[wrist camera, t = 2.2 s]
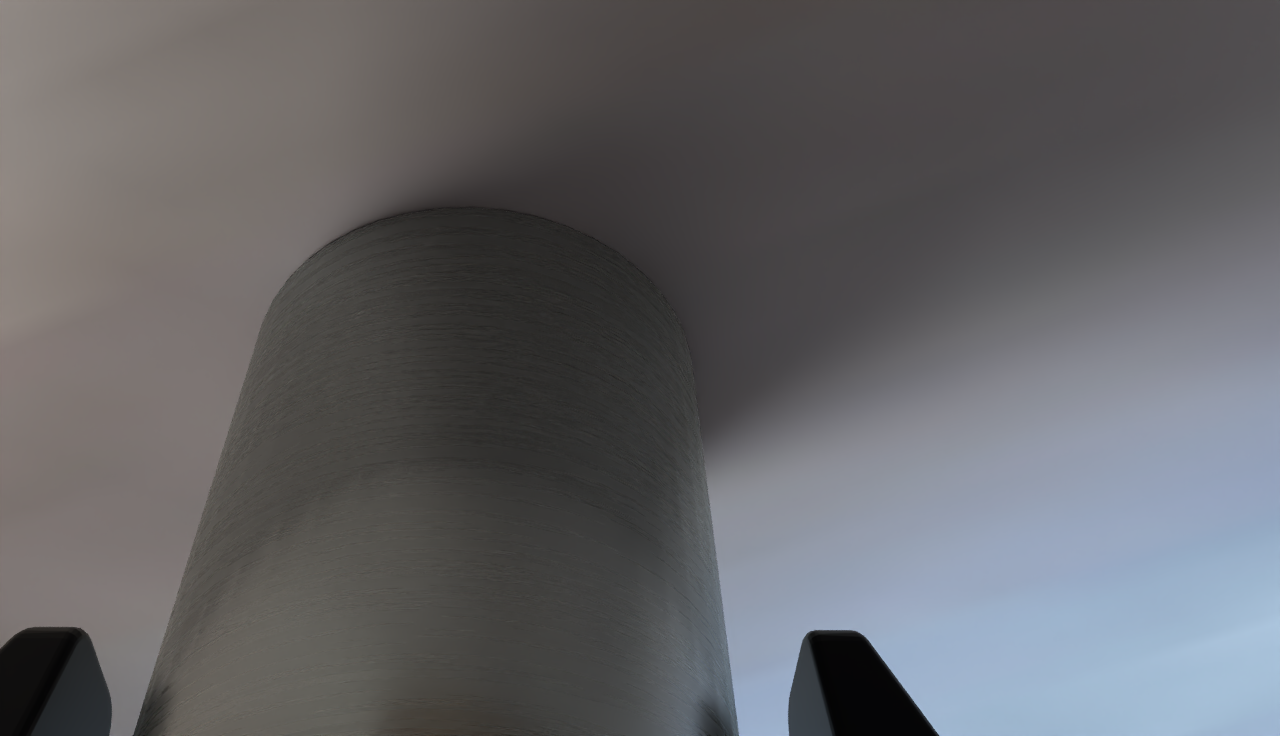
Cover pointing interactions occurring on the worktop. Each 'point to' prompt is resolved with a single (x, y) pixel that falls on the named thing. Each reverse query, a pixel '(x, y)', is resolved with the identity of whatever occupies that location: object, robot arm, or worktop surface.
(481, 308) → the grey cylinder
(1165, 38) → the worktop surface
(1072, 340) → the worktop surface
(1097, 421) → the worktop surface
